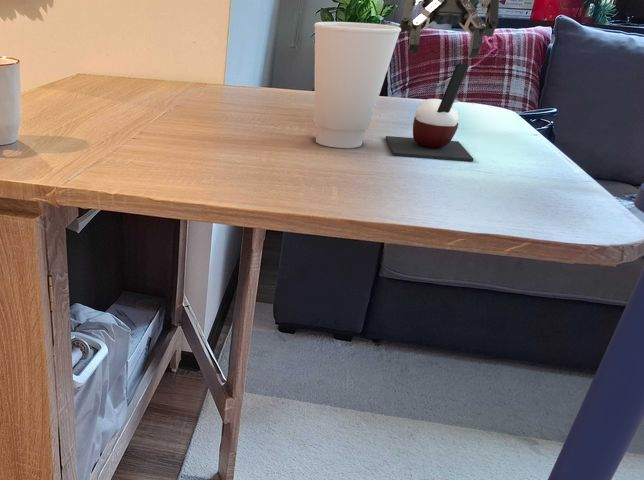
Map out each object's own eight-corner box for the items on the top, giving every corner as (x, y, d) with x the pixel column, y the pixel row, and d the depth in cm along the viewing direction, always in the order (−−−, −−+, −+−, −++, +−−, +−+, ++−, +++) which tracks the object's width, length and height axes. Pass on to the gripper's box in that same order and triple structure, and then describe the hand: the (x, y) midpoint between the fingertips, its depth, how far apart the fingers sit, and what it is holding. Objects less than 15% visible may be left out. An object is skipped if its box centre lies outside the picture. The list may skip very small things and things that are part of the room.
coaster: (457, 143, 98) (458, 141, 98) (472, 161, 89) (473, 158, 89) (385, 138, 100) (385, 135, 100) (392, 155, 91) (393, 152, 90)
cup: (377, 155, 90) (402, 30, 82) (294, 147, 93) (310, 25, 84) (379, 138, 100) (401, 24, 92) (304, 130, 102) (318, 20, 94)
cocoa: (413, 137, 99) (431, 53, 93) (455, 143, 97) (477, 57, 91) (403, 150, 92) (422, 60, 86) (448, 156, 89) (471, 64, 83)
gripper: (413, -54, 100) (400, 32, 96) (510, -51, 97) (500, 37, 93) (405, -16, 107) (392, 66, 103) (495, -12, 104) (485, 72, 100)
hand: (443, 52), depth 98 cm, fingers open, 8 cm apart
